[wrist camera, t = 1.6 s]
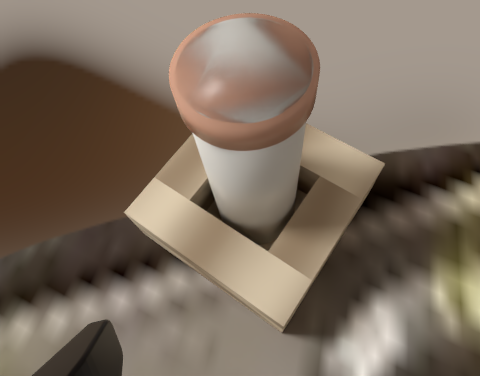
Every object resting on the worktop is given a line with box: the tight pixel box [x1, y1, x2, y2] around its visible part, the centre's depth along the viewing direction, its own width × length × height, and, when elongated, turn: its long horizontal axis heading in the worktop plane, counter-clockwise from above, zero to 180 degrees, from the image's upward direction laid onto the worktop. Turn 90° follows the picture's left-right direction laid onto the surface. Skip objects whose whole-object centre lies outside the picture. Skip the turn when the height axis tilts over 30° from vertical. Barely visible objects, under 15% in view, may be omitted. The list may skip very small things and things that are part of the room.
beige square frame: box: [124, 124, 385, 333], centre depth 22 cm, size 10×10×4 cm
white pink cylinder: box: [169, 13, 320, 245], centre depth 17 cm, size 5×5×12 cm
